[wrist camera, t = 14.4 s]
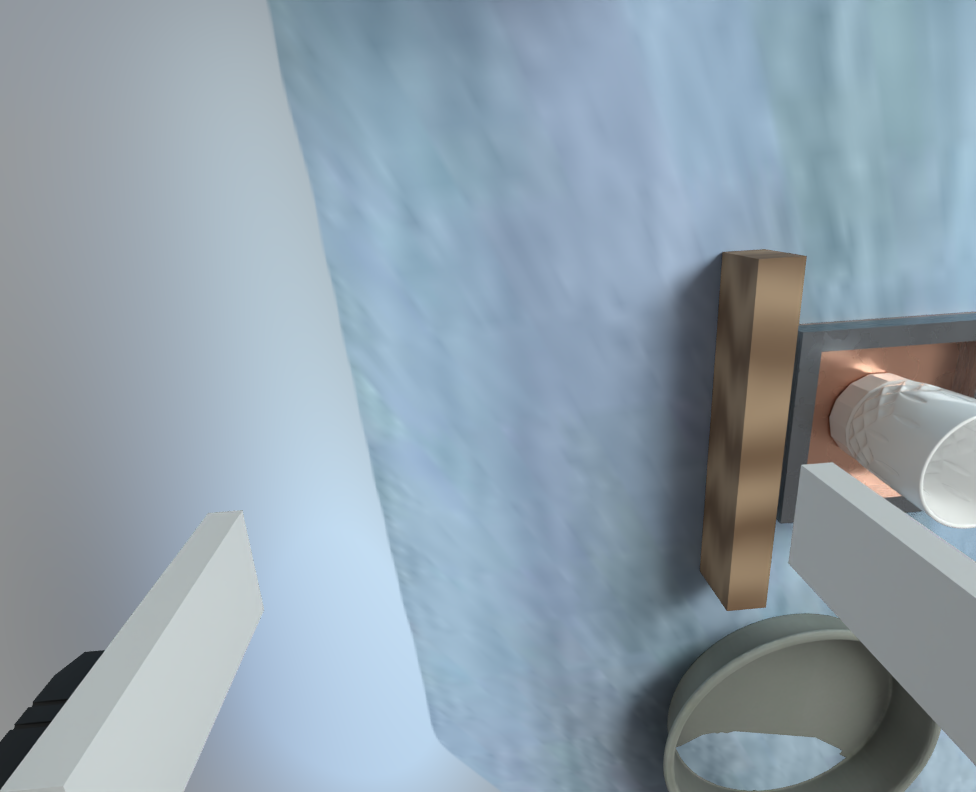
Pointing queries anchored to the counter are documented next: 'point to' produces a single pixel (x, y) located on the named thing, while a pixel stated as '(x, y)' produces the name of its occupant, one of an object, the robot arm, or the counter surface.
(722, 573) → the board
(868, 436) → the white cup
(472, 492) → the counter surface
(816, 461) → the square tray
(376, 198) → the counter surface
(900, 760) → the cake pan
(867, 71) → the counter surface
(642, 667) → the counter surface
